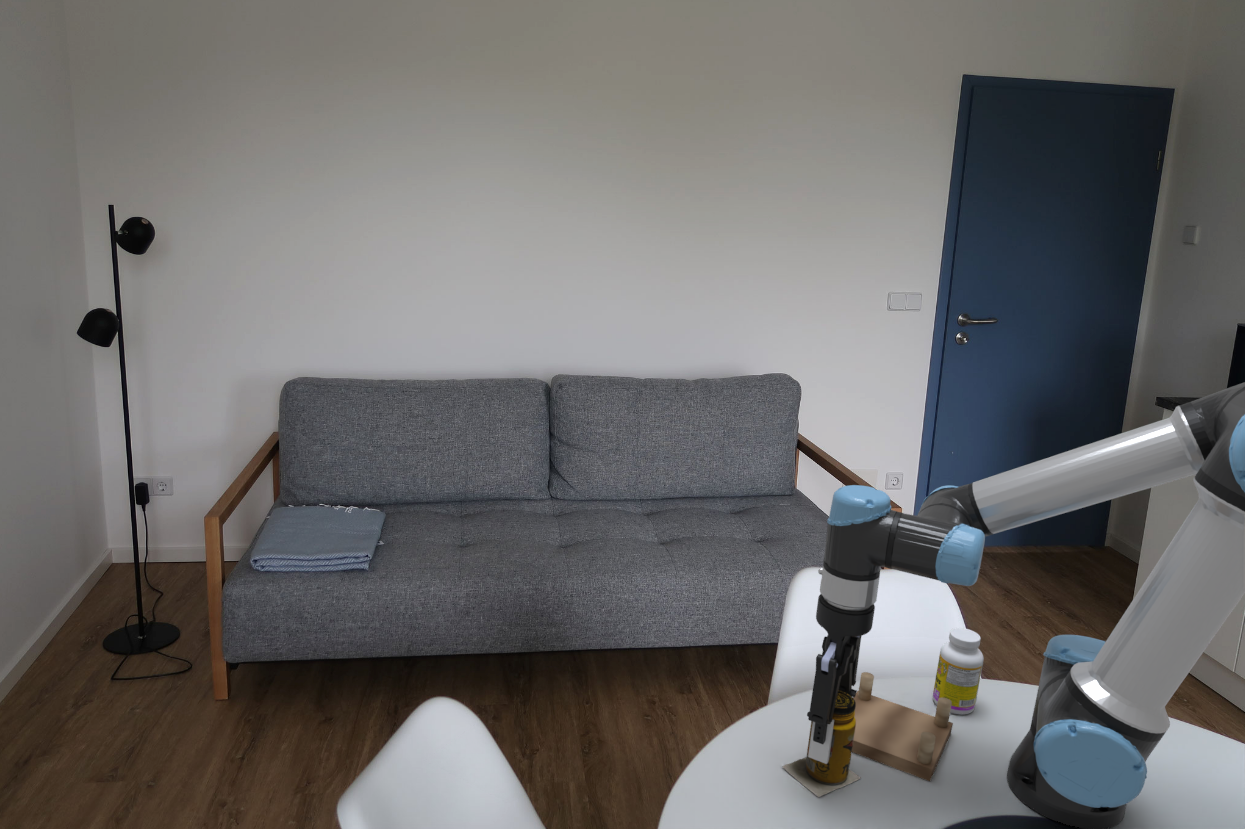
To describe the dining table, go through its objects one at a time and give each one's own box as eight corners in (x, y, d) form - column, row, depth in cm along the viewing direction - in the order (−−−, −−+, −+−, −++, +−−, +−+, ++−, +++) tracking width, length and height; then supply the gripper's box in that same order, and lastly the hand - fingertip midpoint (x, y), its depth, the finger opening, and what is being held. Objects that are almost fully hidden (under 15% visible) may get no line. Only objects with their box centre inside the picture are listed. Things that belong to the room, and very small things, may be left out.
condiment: (861, 779, 126) (872, 704, 123) (818, 798, 121) (829, 721, 118) (823, 751, 132) (833, 679, 129) (781, 768, 127) (791, 694, 124)
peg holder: (950, 734, 138) (957, 700, 137) (930, 781, 126) (936, 744, 125) (856, 701, 145) (861, 668, 144) (828, 743, 134) (833, 708, 132)
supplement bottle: (936, 689, 151) (948, 620, 148) (977, 702, 148) (990, 632, 144) (928, 707, 145) (940, 636, 142) (970, 721, 142) (983, 649, 139)
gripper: (841, 568, 130) (823, 707, 136) (795, 616, 114) (776, 771, 120) (893, 582, 127) (871, 724, 132) (852, 634, 111) (830, 793, 116)
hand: (826, 746), depth 126 cm, fingers closed on condiment, 6 cm apart
